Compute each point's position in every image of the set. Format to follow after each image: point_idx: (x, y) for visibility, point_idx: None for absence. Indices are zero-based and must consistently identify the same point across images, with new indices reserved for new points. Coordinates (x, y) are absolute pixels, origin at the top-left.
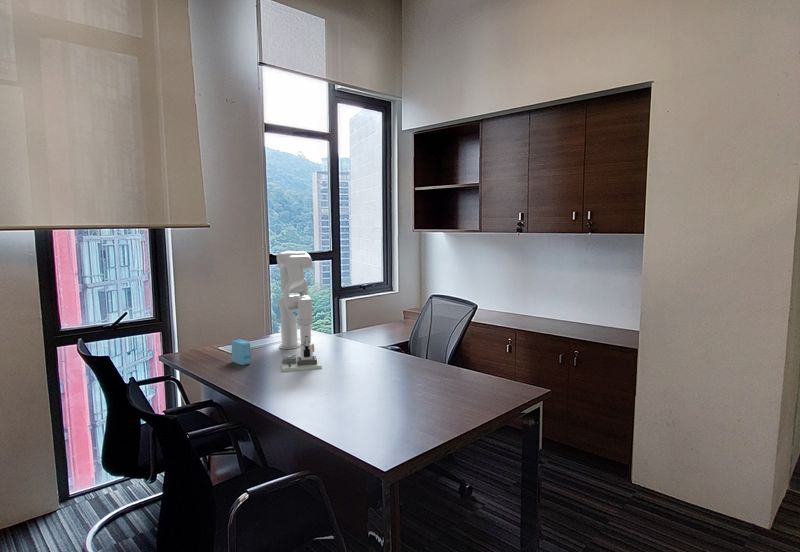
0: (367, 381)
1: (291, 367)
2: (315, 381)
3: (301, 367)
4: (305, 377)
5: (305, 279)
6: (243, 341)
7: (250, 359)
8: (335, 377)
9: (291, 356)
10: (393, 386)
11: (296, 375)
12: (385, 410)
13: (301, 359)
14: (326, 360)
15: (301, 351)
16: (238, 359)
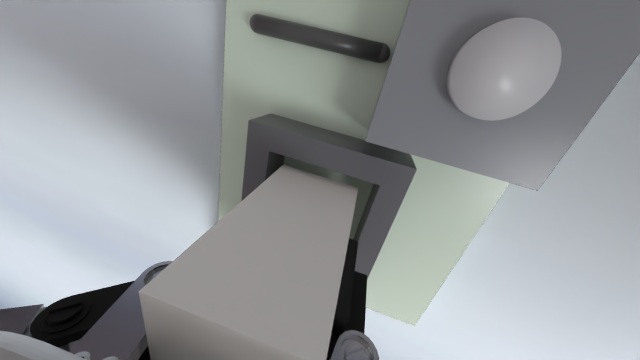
0: (40, 280)
1: (243, 42)
2: (24, 125)
3: (223, 129)
4: (84, 97)
5: None
6: None
7: None
8: (80, 224)
9: (457, 105)
10: (7, 301)
11: (126, 50)
12: None
13: (277, 173)
14: (373, 327)
15: (226, 223)
16: None
